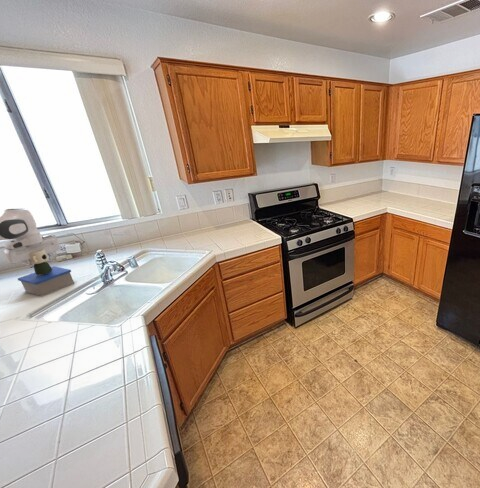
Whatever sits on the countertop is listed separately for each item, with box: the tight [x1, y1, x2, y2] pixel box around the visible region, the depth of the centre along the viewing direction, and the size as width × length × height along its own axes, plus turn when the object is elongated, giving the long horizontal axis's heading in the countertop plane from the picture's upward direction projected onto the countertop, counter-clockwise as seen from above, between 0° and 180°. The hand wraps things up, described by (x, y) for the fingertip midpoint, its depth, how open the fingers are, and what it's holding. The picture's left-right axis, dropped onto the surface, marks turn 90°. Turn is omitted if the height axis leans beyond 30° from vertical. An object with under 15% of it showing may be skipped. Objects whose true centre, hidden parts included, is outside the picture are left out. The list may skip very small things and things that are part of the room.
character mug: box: [27, 249, 52, 275], centre depth 136 cm, size 11×7×13 cm, turn 34°
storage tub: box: [17, 266, 75, 297], centre depth 140 cm, size 15×15×8 cm
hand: (40, 264), depth 137 cm, fingers closed on character mug, 6 cm apart
